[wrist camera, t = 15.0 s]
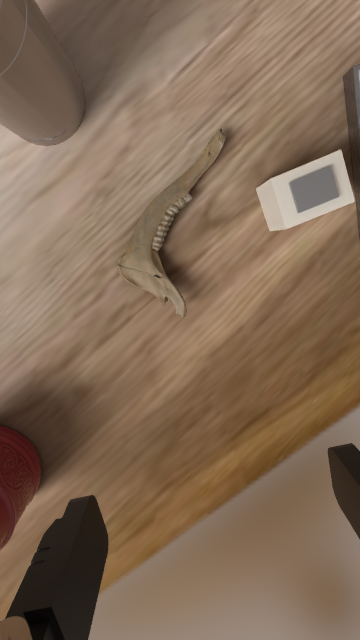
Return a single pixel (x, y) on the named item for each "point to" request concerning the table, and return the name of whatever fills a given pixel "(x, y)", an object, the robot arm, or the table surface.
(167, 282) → the jawbone
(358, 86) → the rail base
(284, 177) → the block
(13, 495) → the canister
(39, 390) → the table surface
